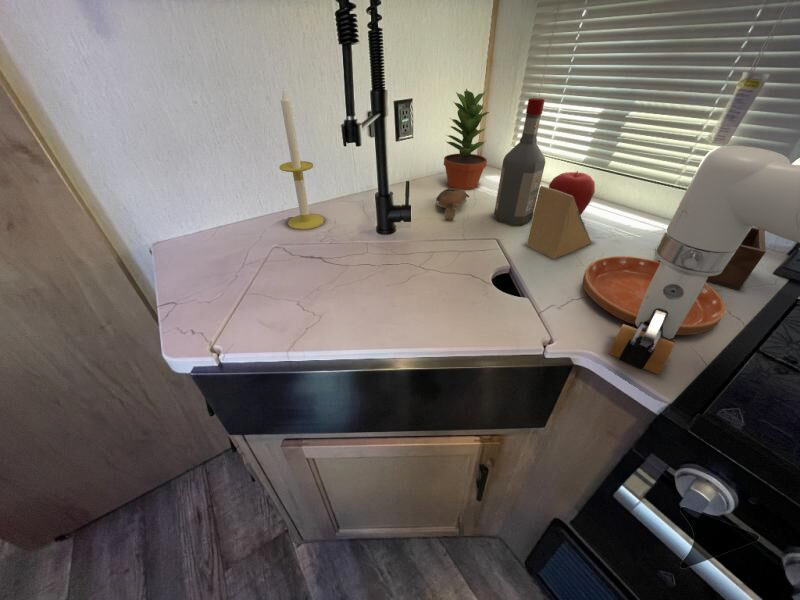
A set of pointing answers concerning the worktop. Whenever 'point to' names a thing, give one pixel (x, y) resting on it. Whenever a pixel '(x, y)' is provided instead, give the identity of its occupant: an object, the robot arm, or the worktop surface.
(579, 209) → the apple
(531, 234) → the sandwich container
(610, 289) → the saucer
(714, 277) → the bin
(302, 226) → the candle
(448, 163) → the potted plant
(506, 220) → the liquor
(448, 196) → the toy tortoise
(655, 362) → the orange cylinder
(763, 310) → the worktop surface
